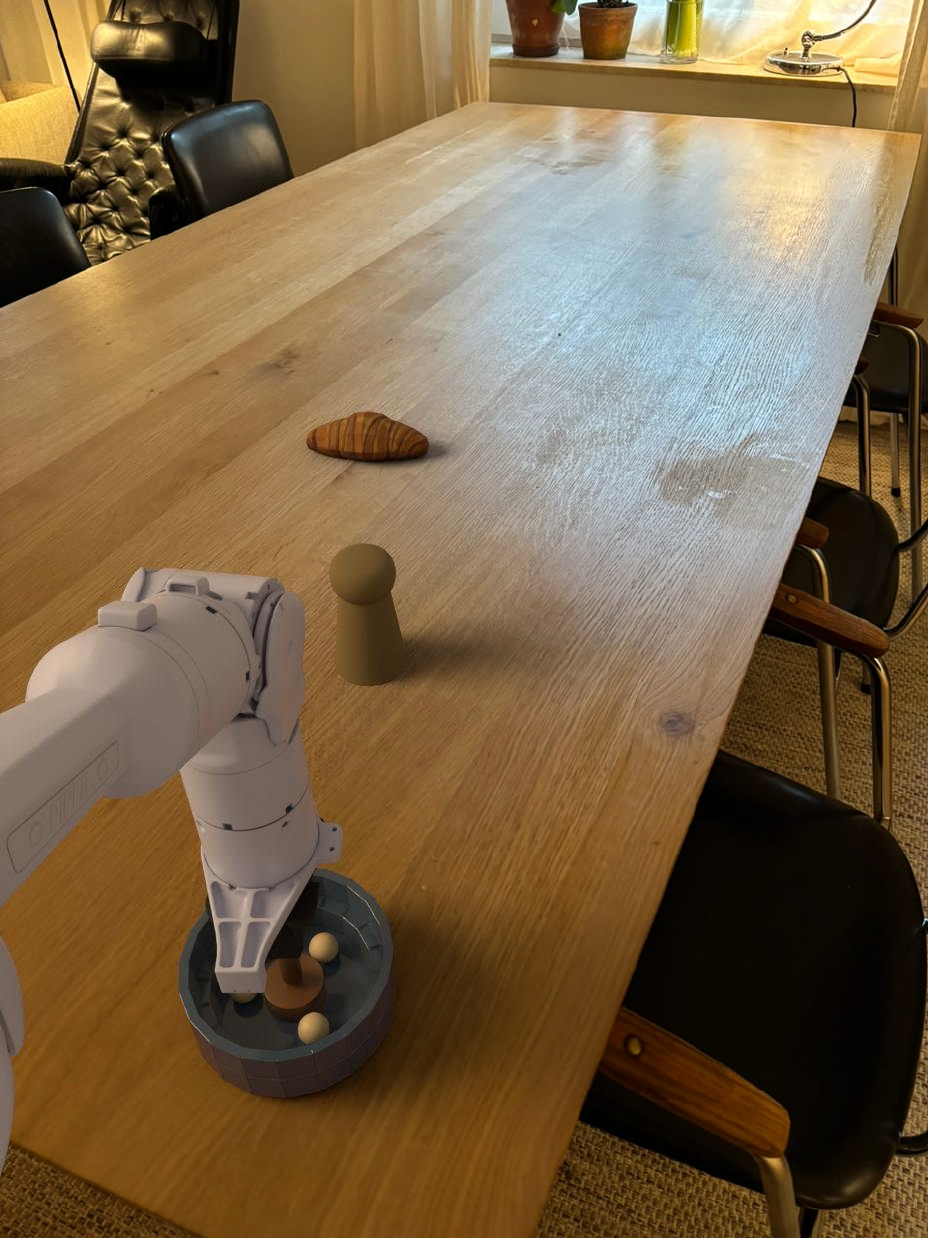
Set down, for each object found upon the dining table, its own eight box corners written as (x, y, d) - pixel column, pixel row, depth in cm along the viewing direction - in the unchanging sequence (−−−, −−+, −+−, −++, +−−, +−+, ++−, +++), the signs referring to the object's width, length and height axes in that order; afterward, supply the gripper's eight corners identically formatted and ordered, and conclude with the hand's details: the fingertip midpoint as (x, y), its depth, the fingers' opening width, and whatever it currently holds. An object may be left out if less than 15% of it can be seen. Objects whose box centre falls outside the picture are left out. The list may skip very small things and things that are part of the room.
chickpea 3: (307, 1057, 57) (303, 1042, 56) (295, 1031, 58) (291, 1016, 57) (335, 1042, 58) (332, 1027, 56) (323, 1016, 59) (320, 1001, 58)
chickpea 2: (317, 973, 61) (314, 958, 60) (306, 951, 62) (303, 935, 61) (344, 960, 62) (341, 944, 60) (332, 938, 63) (329, 922, 62)
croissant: (300, 467, 106) (294, 425, 103) (313, 434, 111) (308, 394, 108) (425, 473, 105) (423, 431, 102) (433, 440, 110) (431, 399, 107)
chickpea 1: (237, 1014, 59) (232, 999, 58) (227, 989, 60) (221, 974, 59) (265, 1000, 60) (261, 984, 59) (255, 976, 61) (250, 960, 60)
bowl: (235, 1144, 54) (219, 1104, 51) (168, 966, 62) (151, 921, 59) (432, 1035, 59) (429, 992, 55) (346, 882, 67) (339, 837, 63)
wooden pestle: (279, 1033, 58) (259, 948, 52) (257, 983, 60) (235, 897, 55) (335, 1004, 59) (322, 918, 54) (311, 957, 62) (296, 870, 56)
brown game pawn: (421, 652, 84) (415, 547, 77) (379, 695, 80) (369, 589, 73) (363, 627, 86) (353, 523, 79) (320, 668, 82) (305, 563, 75)
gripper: (314, 917, 42) (343, 1066, 51) (346, 676, 53) (366, 833, 61) (147, 917, 42) (205, 1066, 51) (214, 676, 53) (252, 834, 62)
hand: (285, 939), depth 56 cm, fingers closed on wooden pestle
